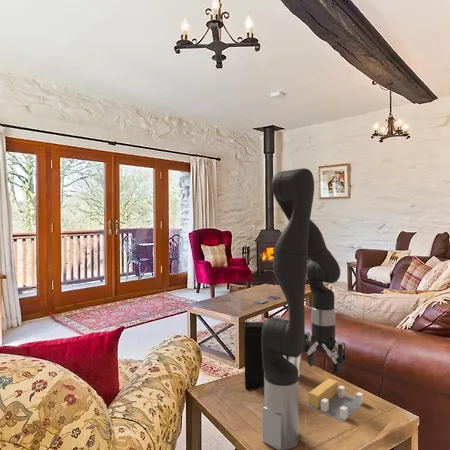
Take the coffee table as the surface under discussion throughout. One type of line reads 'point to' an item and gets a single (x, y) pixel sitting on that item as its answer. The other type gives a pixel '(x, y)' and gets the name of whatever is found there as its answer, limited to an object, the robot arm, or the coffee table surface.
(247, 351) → the portable radio
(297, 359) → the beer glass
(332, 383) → the bar
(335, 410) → the board
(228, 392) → the coffee table surface
